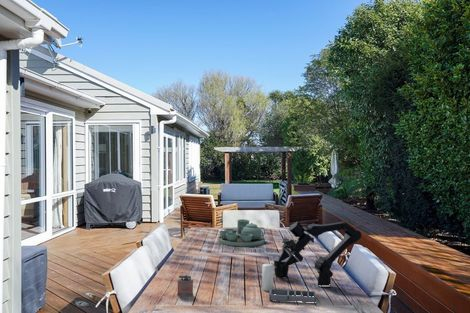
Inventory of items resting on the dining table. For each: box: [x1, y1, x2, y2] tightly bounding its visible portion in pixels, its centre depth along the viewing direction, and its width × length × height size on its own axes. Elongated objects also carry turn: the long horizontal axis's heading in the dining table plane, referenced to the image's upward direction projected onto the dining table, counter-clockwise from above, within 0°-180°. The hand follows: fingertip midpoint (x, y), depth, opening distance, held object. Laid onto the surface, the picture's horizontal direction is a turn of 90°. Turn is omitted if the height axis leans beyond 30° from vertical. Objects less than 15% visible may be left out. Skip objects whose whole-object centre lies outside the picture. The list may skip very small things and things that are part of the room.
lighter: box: [176, 274, 194, 297], centre depth 199 cm, size 8×3×10 cm, turn 92°
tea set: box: [217, 219, 266, 248], centre depth 332 cm, size 40×40×16 cm
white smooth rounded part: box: [261, 263, 275, 292], centre depth 210 cm, size 6×6×13 cm
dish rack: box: [268, 288, 317, 303], centre depth 196 cm, size 23×10×4 cm, turn 82°
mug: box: [273, 257, 290, 279], centre depth 232 cm, size 12×9×10 cm
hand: (281, 263), depth 212 cm, fingers open, 9 cm apart
